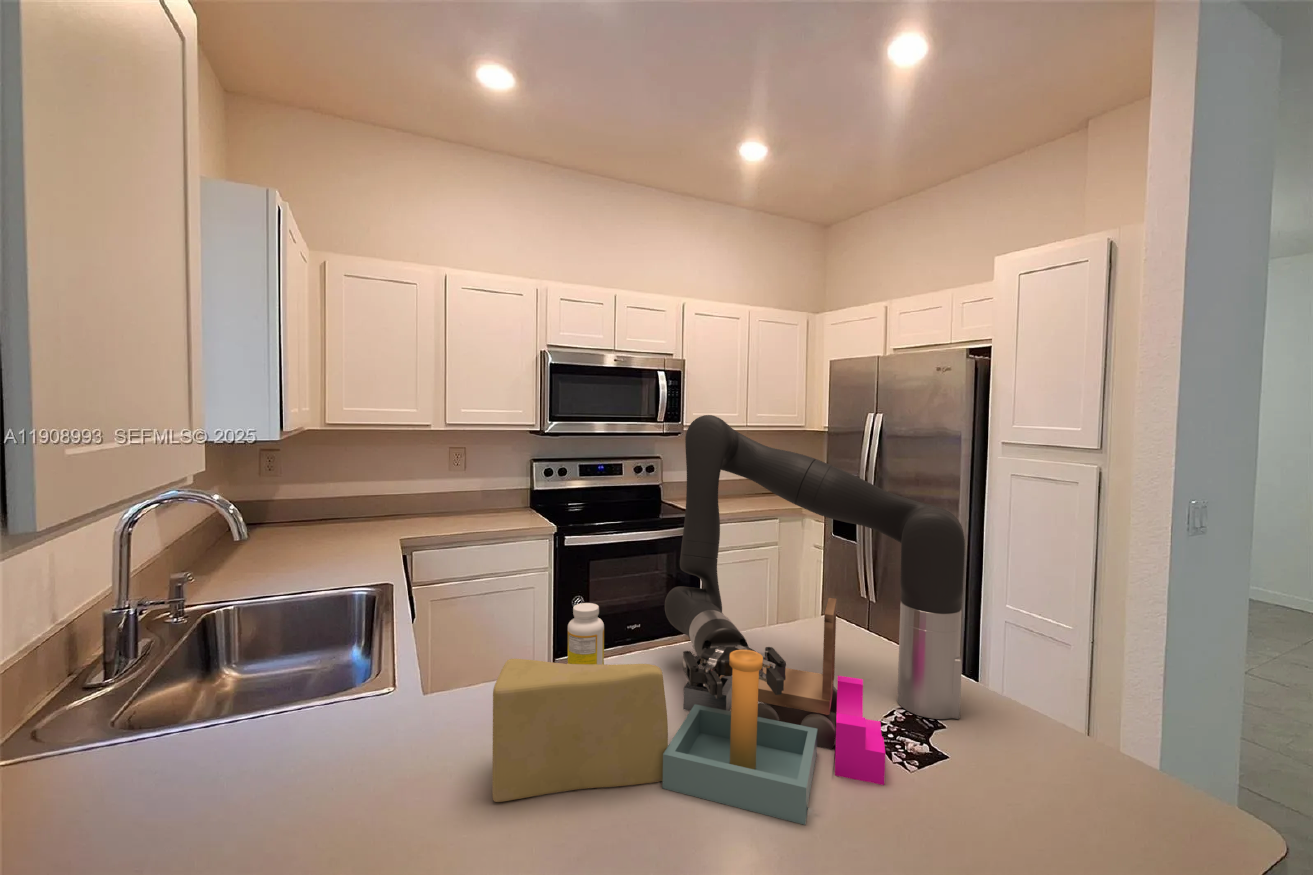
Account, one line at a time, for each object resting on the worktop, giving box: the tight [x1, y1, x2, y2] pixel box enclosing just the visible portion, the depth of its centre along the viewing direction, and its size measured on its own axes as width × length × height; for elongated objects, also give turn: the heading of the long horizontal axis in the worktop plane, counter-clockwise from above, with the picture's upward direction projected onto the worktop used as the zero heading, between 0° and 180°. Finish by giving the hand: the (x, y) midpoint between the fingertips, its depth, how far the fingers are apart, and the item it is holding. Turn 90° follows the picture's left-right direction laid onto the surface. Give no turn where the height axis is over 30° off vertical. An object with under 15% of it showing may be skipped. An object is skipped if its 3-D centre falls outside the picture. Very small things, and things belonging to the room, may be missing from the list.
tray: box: [662, 704, 818, 826], centre depth 79 cm, size 18×14×4 cm
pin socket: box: [682, 676, 732, 712], centre depth 96 cm, size 7×7×4 cm
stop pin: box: [729, 650, 763, 770], centre depth 78 cm, size 4×4×15 cm
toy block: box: [834, 675, 886, 786], centre depth 85 cm, size 15×6×8 cm, turn 162°
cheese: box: [491, 658, 669, 803], centre depth 77 cm, size 22×10×15 cm, turn 93°
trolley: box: [757, 597, 838, 750], centre depth 91 cm, size 13×12×20 cm
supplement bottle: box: [567, 602, 605, 665], centre depth 107 cm, size 7×7×13 cm
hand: (749, 689), depth 76 cm, fingers open, 7 cm apart
